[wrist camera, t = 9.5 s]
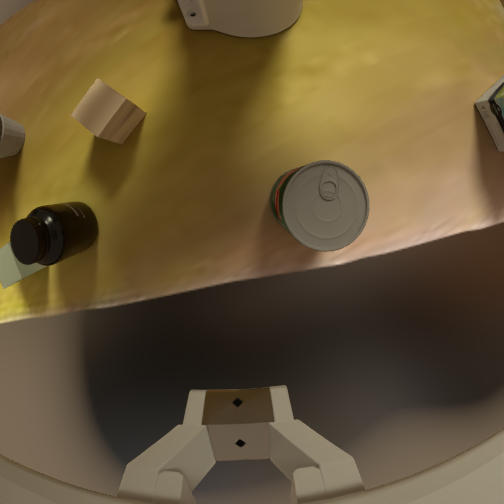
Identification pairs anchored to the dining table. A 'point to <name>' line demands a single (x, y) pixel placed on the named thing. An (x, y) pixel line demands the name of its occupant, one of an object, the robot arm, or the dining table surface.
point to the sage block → (14, 267)
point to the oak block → (107, 113)
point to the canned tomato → (321, 204)
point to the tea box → (494, 112)
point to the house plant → (10, 136)
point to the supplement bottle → (53, 233)
